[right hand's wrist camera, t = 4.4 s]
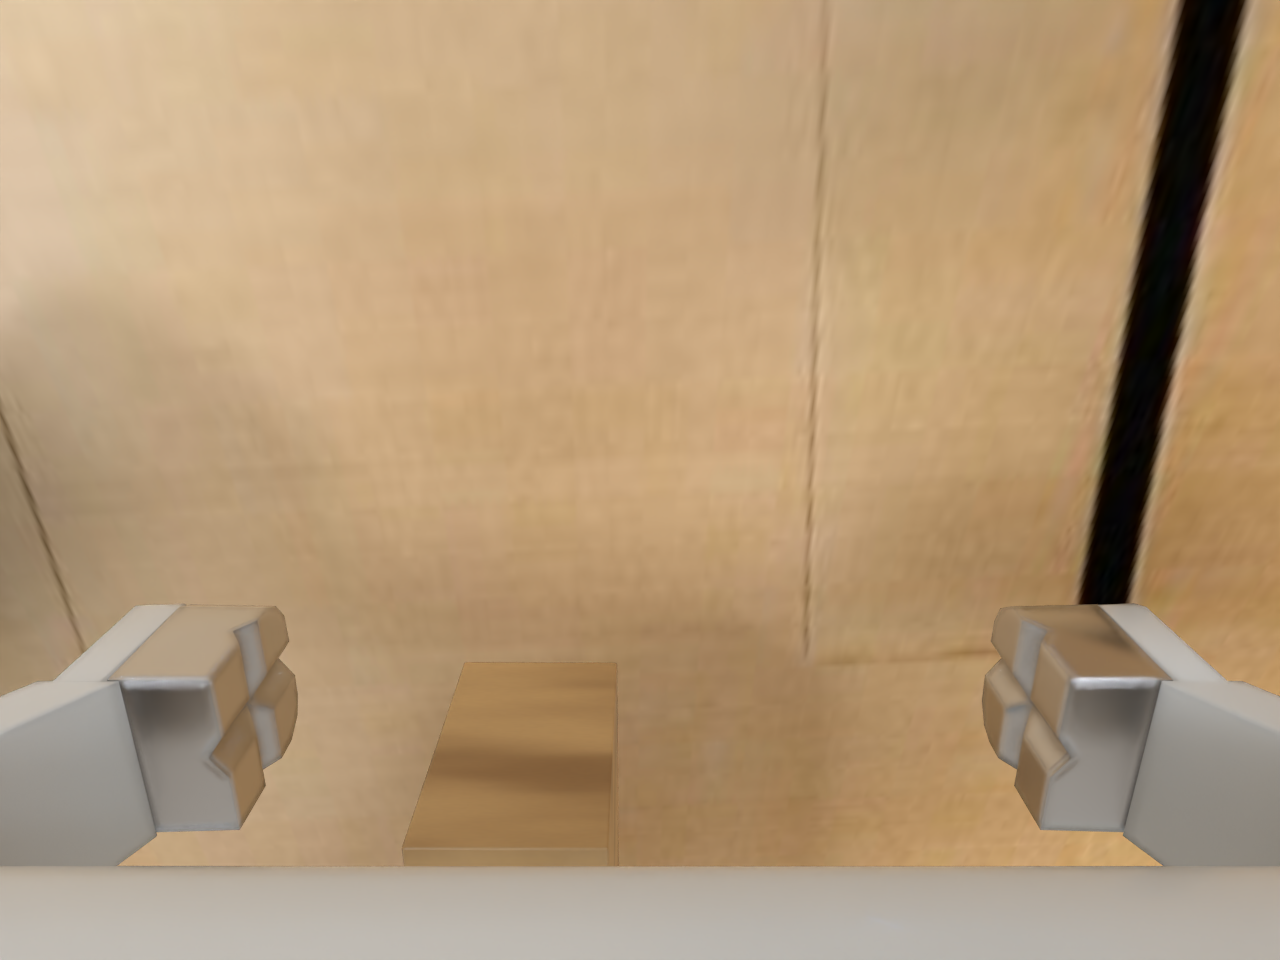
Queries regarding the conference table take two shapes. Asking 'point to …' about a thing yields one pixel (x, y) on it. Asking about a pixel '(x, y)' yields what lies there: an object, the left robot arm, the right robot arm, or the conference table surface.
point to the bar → (523, 770)
